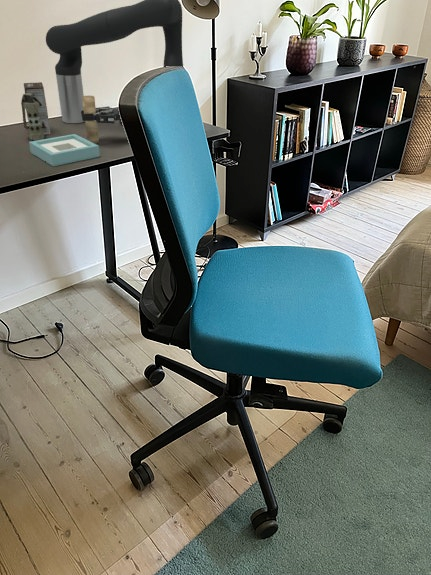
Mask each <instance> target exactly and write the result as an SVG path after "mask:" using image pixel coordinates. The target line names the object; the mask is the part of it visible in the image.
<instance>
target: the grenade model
mask: <svg viewBox="0 0 431 575" xmlns="http://www.w3.org/2000/svg"><path fill="white" fill-rule="evenodd" d="M33 96H35V95H34V94H31V93H25V92H24V93H22V97H21V100H20V104H21V110H22V122H23V128H24V129H26V130H28V131H29V134H28V138H29V140H30V141H37V140H43V139H46V138H45V135H44V133H43V132H42V130H41V124H40V118H39V113H38V108H39V107H40V106H42V104H41V103H40V102H39V101H38V100H37V99H36V98H35V97H33ZM33 99H34V100H35V101H33ZM26 119H27V120H26ZM27 123H28V125H27Z"/></svg>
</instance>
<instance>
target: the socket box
mask: <svg viewBox="0 0 431 575" xmlns="http://www.w3.org/2000/svg"><path fill="white" fill-rule="evenodd" d="M28 143H29V149H30V153H31V154H32V155H34V156H36V157H37V158H39V159H41V160H42V161H44V162H45V161H46V162H45V163H47V164H49V165H50V166H52V167H57V166H61V165H67V164H70V163H71V164H72V163H75V162H76V163H77V162H81V161H86V160H90V159H95V158H99V157H100V158H101V155H100V154H101V153H100V145H98V144H97V143H96V144H94V143H92V142H90V141H88V140H87V138H84V137H82V136H80V135H77V134H76V133H73V134H66V135H62V136H60V135H59V136H55V137H50V138H44V139H43V140H37V141H33V140H30V141H29V142H28Z"/></svg>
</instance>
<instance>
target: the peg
mask: <svg viewBox="0 0 431 575" xmlns="http://www.w3.org/2000/svg"><path fill="white" fill-rule="evenodd" d="M95 97H96V96H94V95H84V96H82V101H83V109H84V114H91V113H93V115H94V113H96V108H97V106H96V99H95ZM84 126H85V134H86V140H88V141H90V142H92V143H94V144H96V145H97V144H99V143H100V138H99V128H98V123H97V122H95V121H85V122H84Z"/></svg>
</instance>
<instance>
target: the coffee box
mask: <svg viewBox="0 0 431 575" xmlns="http://www.w3.org/2000/svg"><path fill="white" fill-rule="evenodd" d="M23 89H24V94H25V93H31V94H34V95H35V96H33V97H35V98H36V99H37V100H38V101H39V102H40V103H41V104H42V106H40V107H39V108H38V113H39V118H40V124H41V130H42V132H43V133H44V136H45V135H51V134H52V133H51V127H50V121H49V112H48V106H47V101H46V94H45V89H44V85H43V83H42V82H40V81H39V82H25V83H23ZM33 101H35V100H34V99H33Z"/></svg>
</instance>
